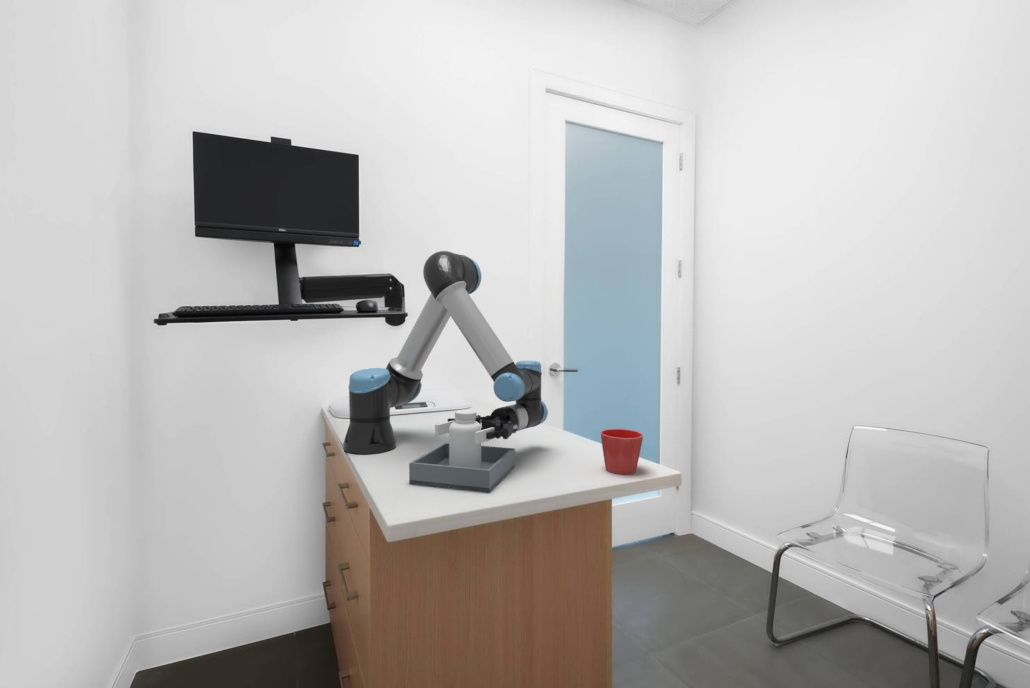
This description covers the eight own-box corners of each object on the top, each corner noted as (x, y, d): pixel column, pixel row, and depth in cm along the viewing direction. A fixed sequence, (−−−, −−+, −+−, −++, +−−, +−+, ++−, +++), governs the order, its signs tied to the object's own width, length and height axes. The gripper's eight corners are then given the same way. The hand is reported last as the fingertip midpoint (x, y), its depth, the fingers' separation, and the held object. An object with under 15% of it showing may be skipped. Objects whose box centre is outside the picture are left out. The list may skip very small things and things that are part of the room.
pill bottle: (486, 468, 126) (486, 409, 125) (472, 477, 119) (472, 415, 118) (458, 464, 129) (458, 407, 128) (443, 474, 121) (443, 413, 120)
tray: (409, 483, 117) (409, 463, 117) (444, 460, 136) (444, 442, 136) (489, 492, 111) (489, 470, 111) (514, 467, 131) (514, 448, 130)
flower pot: (636, 464, 134) (637, 428, 134) (646, 476, 123) (647, 438, 123) (597, 463, 134) (597, 428, 134) (603, 476, 124) (604, 437, 123)
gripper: (545, 439, 131) (494, 457, 113) (474, 427, 145) (420, 441, 128) (545, 411, 130) (495, 425, 113) (474, 401, 145) (420, 412, 128)
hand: (455, 434), depth 120 cm, fingers open, 12 cm apart
